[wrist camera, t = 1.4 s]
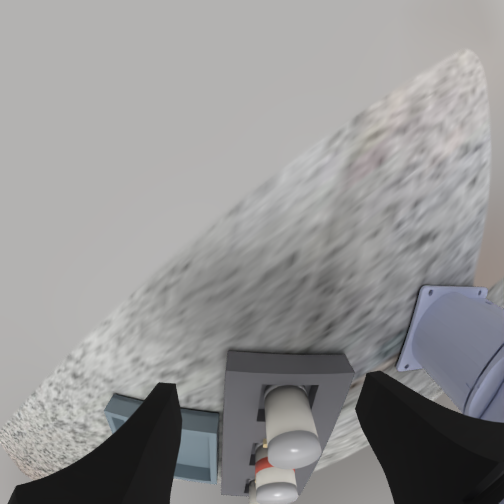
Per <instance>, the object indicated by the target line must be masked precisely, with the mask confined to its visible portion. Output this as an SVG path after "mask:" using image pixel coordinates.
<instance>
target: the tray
mask: <svg viewBox="0 0 504 504" xmlns="http://www.w3.org/2000/svg"><path fill="white" fill-rule="evenodd" d="M142 403H143V401H140V400H136V399H131V398H127V397H123V396H120V395H116V394H114V395H113V396H112V398H111V400H110V401H109V403H108V405H107V406H106V408H105V410H104V412H105V415H106V418H107V420H108V423H109V426H110V428H111V431H112V434H113V433H114V432H115V431H116V430H118V429H119V428H120V427H121V426H122V425H123V424H124V423H125V422H126V421H127V420H128V418H129V417H130V416H131V415H132V414H133V413H134V412H135V411H136V410H137V408H138V407H139V406H140V405H141V404H142ZM180 410H181V415H182V420H183V421H182V434H181V444H180V449H179V453H178V458H177V463H176V468H175V473H174V477H173V478H176V479H181V480H187V481H194V482H201V483H209V484H217V475H218V446H219V413H210V412H202V411H194V410H187V409H181V408H180Z"/></svg>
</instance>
